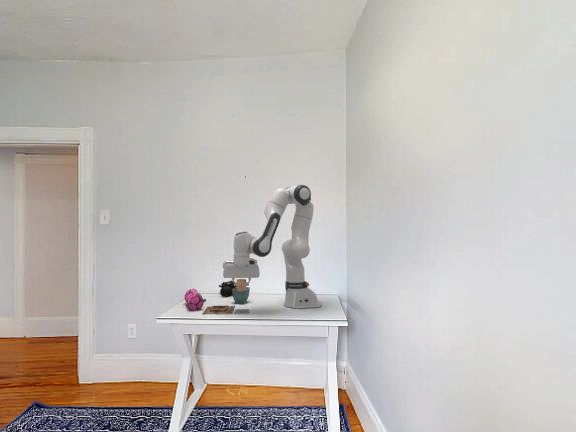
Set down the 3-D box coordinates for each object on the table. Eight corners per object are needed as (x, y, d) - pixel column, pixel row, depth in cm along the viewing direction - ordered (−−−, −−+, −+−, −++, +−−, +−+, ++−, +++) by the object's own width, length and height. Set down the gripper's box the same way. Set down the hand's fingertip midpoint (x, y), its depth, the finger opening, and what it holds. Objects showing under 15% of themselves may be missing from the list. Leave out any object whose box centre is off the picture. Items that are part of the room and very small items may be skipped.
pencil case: (206, 310, 198) (206, 292, 198) (189, 312, 194) (189, 294, 194) (198, 302, 217) (198, 286, 218) (182, 304, 213) (182, 287, 213)
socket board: (234, 306, 206) (234, 303, 206) (232, 313, 190) (232, 310, 190) (207, 307, 205) (207, 304, 205) (202, 314, 189) (202, 311, 189)
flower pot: (245, 304, 209) (245, 289, 210) (231, 304, 211) (231, 289, 211) (250, 301, 218) (250, 287, 218) (236, 300, 220) (236, 286, 220)
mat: (249, 309, 198) (249, 308, 198) (248, 313, 190) (248, 312, 190) (235, 309, 198) (235, 309, 198) (233, 313, 190) (233, 312, 190)
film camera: (212, 297, 231) (212, 282, 231) (220, 293, 243) (220, 279, 243) (237, 298, 227) (237, 283, 227) (244, 294, 239) (244, 280, 239)
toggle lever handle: (235, 289, 195) (235, 279, 195) (245, 289, 196) (245, 278, 197) (238, 293, 185) (238, 282, 185) (248, 292, 187) (248, 281, 187)
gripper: (222, 261, 190) (221, 287, 190) (259, 261, 192) (259, 286, 191) (223, 260, 197) (223, 285, 196) (259, 260, 198) (259, 284, 198)
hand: (241, 285), depth 194 cm, fingers closed on toggle lever handle, 5 cm apart
